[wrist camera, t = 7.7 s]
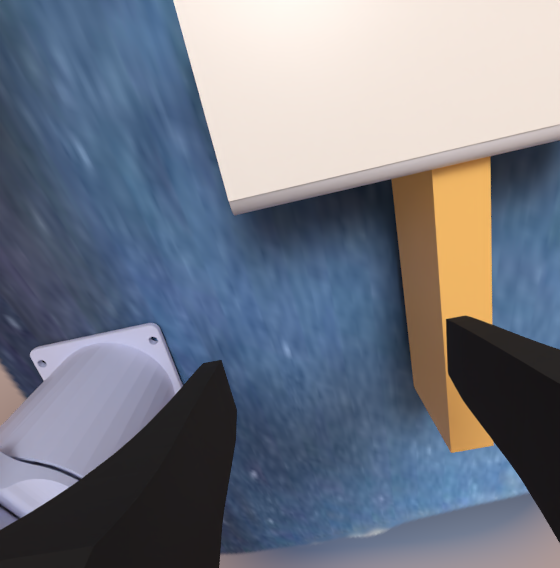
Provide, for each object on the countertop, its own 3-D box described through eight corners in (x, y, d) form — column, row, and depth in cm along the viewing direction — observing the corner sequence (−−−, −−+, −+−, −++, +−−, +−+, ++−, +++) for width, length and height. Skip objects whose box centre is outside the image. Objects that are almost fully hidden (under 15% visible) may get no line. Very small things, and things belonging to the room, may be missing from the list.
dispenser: (569, 115, 17) (744, 99, 11) (248, 191, 19) (233, 217, 12) (585, -149, 14) (855, -403, 7) (190, -36, 15) (126, -172, 9)
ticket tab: (446, 380, 22) (493, 445, 17) (414, 387, 22) (450, 452, 17) (430, 137, 17) (490, 135, 12) (387, 147, 17) (430, 149, 12)
